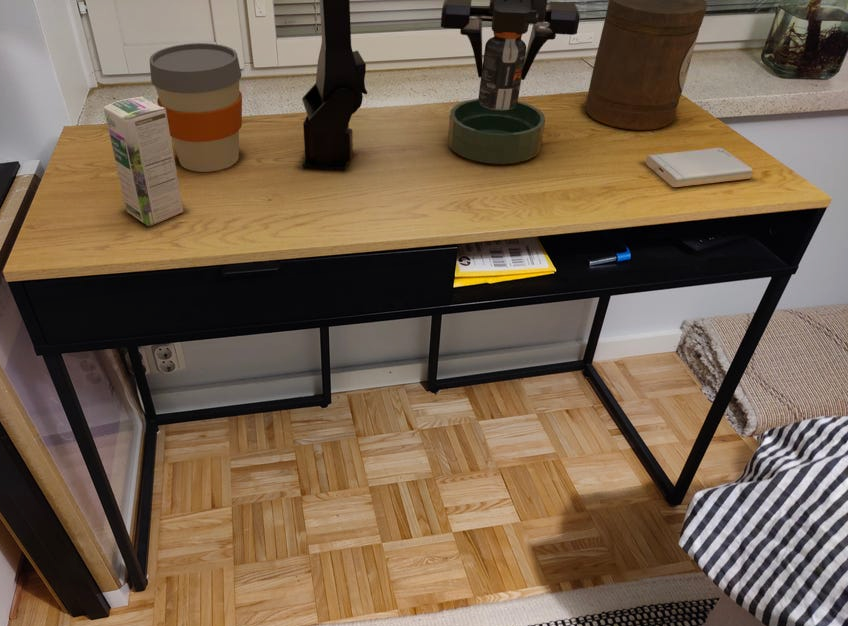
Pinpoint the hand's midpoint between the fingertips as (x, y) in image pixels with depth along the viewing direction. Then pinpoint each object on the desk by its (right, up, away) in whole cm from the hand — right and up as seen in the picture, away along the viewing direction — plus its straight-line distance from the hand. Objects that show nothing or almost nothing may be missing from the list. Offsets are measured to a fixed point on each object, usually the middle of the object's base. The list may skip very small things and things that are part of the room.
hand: (501, 77), depth 104 cm
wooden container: (+25, +1, +18) cm, 31 cm away
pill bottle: (0, -3, +3) cm, 4 cm away
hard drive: (+29, -14, +1) cm, 32 cm away
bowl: (0, -8, +7) cm, 11 cm away
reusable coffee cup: (-44, -11, +4) cm, 46 cm away
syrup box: (-48, -22, -9) cm, 54 cm away
